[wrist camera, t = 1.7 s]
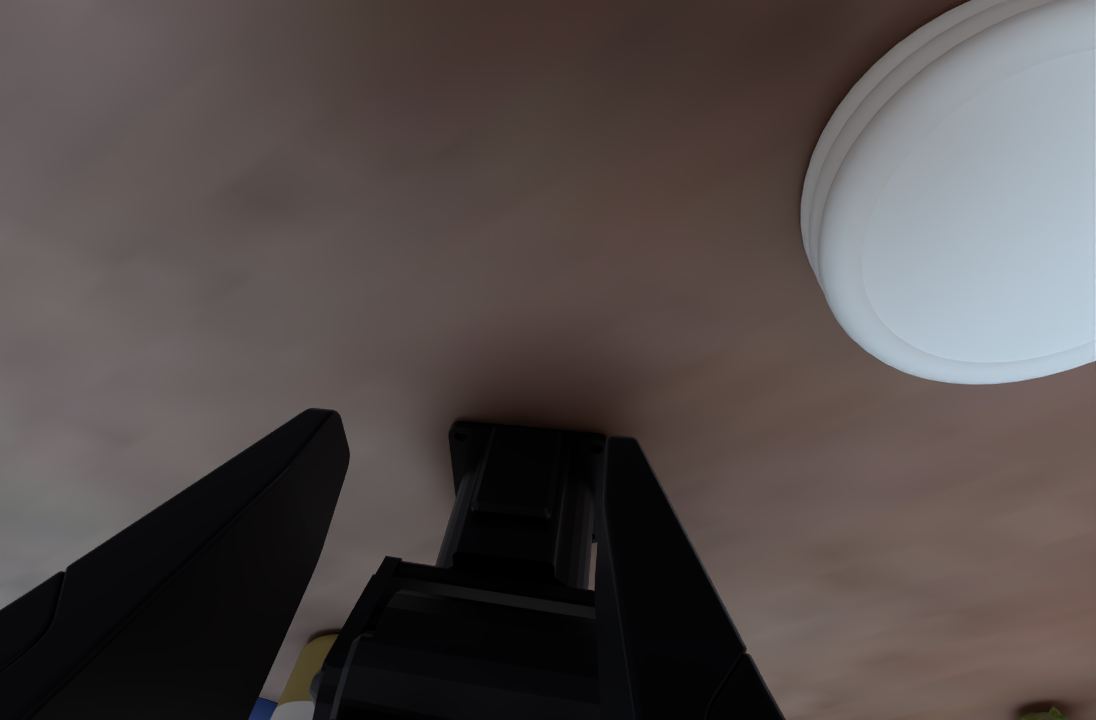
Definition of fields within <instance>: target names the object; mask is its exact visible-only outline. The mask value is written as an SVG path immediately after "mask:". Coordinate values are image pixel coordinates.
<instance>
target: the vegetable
mask: <svg viewBox="0 0 1096 720" xmlns="http://www.w3.org/2000/svg"><path fill="white" fill-rule="evenodd" d="M1020 720H1068V718H1067V717H1066V716H1065V715H1064V714H1063V713H1062V714H1060V713H1059V711H1058V710H1057V709H1056V708H1054V707H1052V708H1051V709H1050V710H1049V712H1048V713H1047V712H1040V713H1034V712H1031V713H1028V714H1027V715H1025V716H1021V717H1020Z"/></svg>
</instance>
